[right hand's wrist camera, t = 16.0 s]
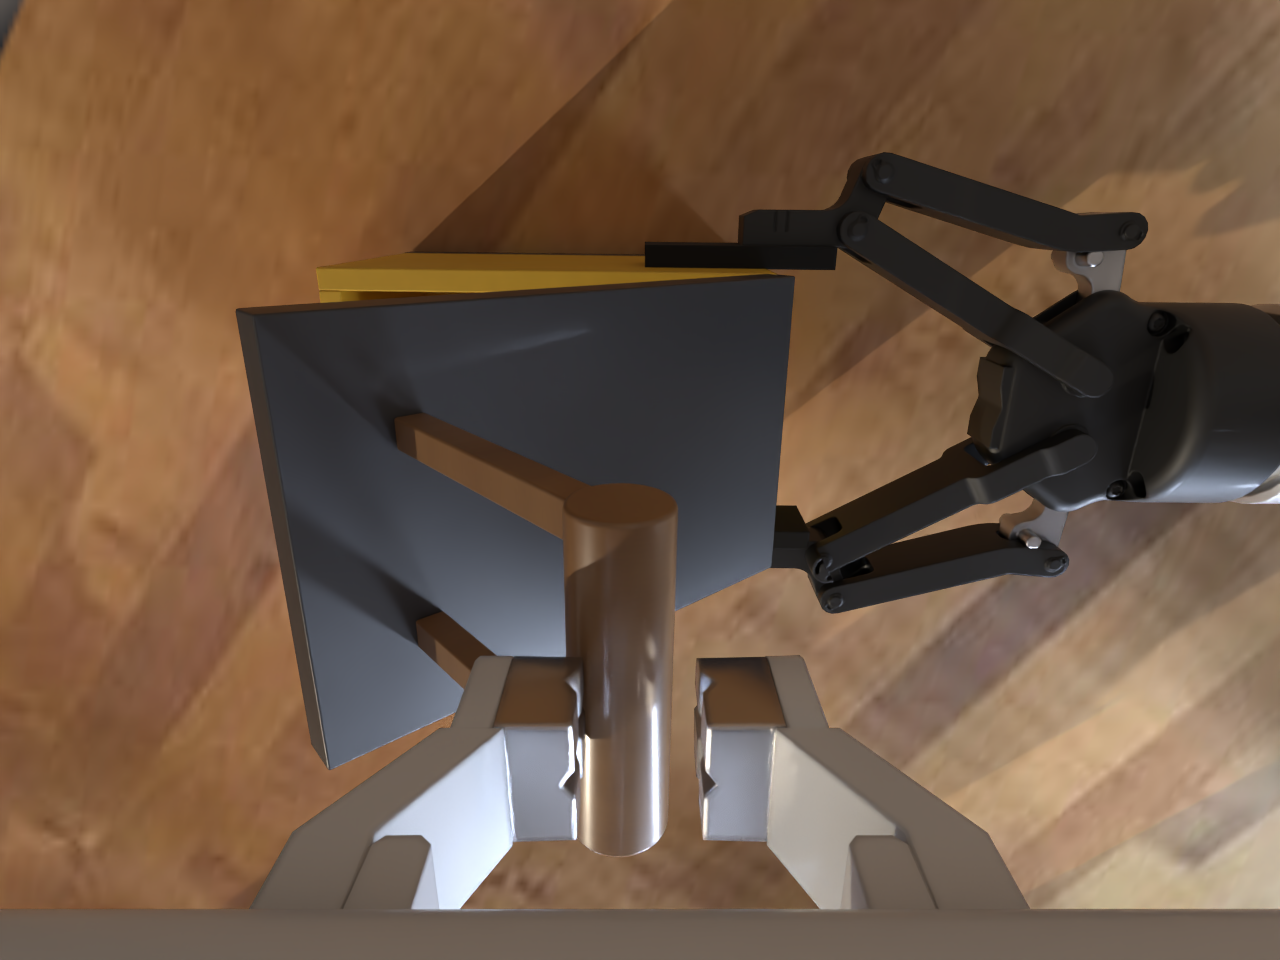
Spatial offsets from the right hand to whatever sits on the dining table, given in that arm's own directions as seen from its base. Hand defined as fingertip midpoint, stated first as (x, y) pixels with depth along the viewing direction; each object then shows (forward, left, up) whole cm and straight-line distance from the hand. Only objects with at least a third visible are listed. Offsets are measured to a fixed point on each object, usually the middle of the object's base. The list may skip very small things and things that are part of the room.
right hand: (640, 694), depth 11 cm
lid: (+1, +2, -10) cm, 10 cm away
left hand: (0, 0, -18) cm, 18 cm away
